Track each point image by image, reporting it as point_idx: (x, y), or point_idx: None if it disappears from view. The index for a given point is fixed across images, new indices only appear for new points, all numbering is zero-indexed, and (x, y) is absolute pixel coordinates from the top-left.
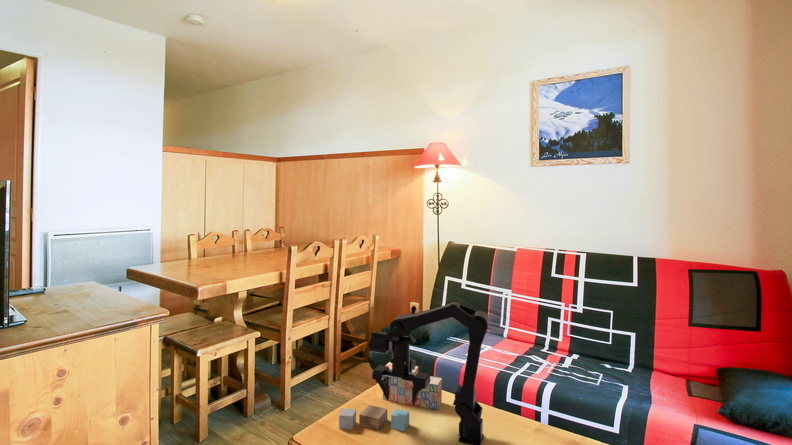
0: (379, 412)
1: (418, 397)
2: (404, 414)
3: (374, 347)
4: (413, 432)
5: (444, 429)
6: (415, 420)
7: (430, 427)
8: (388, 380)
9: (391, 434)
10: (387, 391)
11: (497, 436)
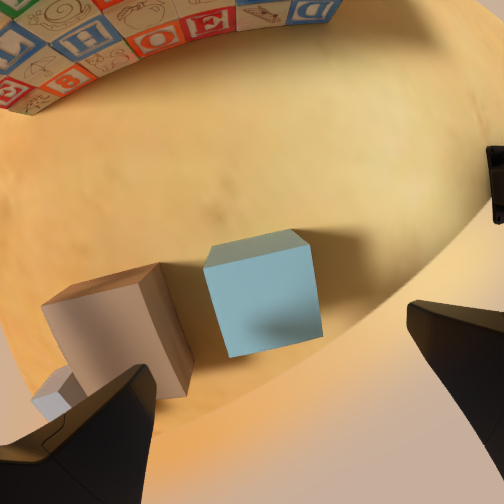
0: (136, 346)
1: (216, 6)
2: (303, 301)
3: None
4: (347, 277)
5: (440, 169)
6: (296, 168)
7: (392, 187)
8: (41, 485)
9: (265, 352)
10: (130, 442)
11: None
